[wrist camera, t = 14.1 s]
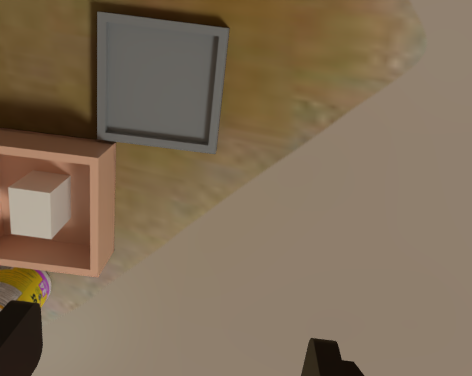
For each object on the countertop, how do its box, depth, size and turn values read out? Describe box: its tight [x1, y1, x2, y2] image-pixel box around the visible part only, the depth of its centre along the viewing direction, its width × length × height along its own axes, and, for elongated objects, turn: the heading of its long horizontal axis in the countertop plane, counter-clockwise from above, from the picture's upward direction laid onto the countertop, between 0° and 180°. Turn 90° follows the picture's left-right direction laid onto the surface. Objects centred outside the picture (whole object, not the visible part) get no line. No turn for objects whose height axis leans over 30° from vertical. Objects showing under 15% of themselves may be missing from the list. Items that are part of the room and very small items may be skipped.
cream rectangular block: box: [8, 170, 71, 239], centre depth 44 cm, size 5×4×5 cm
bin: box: [0, 128, 116, 277], centre depth 45 cm, size 13×13×6 cm
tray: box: [97, 12, 230, 154], centre depth 42 cm, size 12×12×1 cm
